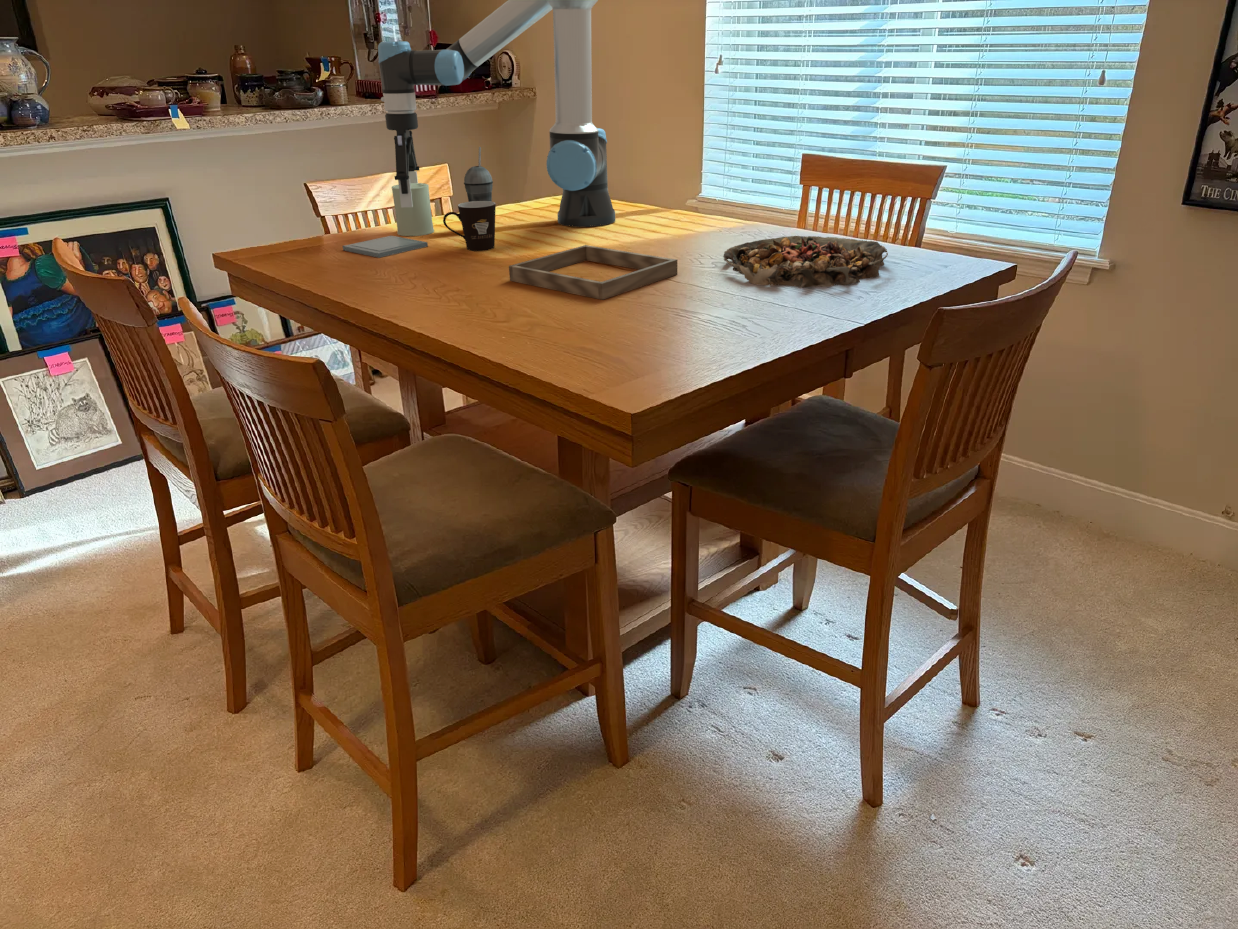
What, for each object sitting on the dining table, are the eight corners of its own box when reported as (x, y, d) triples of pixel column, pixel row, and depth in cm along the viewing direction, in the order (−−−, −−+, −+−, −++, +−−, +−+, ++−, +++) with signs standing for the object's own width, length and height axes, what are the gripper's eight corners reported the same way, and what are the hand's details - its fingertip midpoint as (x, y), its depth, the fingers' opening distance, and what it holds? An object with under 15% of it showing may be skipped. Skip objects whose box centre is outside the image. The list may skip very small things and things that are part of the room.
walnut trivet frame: (677, 274, 183) (677, 259, 181) (602, 299, 167) (602, 283, 166) (586, 258, 197) (585, 244, 196) (509, 280, 182) (508, 265, 180)
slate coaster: (427, 246, 214) (427, 241, 213) (378, 257, 204) (378, 252, 204) (391, 239, 222) (391, 235, 221) (343, 250, 212) (342, 245, 212)
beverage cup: (465, 228, 232) (456, 146, 223) (492, 225, 235) (484, 144, 226) (473, 233, 226) (464, 149, 217) (500, 230, 229) (493, 147, 220)
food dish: (800, 306, 164) (801, 263, 161) (690, 274, 190) (689, 237, 186) (928, 269, 181) (932, 230, 177) (811, 245, 206) (812, 210, 203)
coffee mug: (502, 243, 214) (499, 200, 209) (494, 252, 206) (490, 207, 202) (455, 244, 215) (450, 201, 211) (445, 252, 207) (440, 207, 203)
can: (430, 235, 225) (424, 186, 220) (393, 236, 225) (386, 187, 220) (437, 228, 233) (432, 180, 228) (402, 229, 233) (395, 181, 228)
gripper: (392, 107, 228) (402, 194, 237) (376, 116, 205) (388, 211, 214) (422, 107, 228) (430, 193, 237) (409, 116, 206) (419, 210, 215)
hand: (410, 202), depth 226 cm, fingers open, 13 cm apart
